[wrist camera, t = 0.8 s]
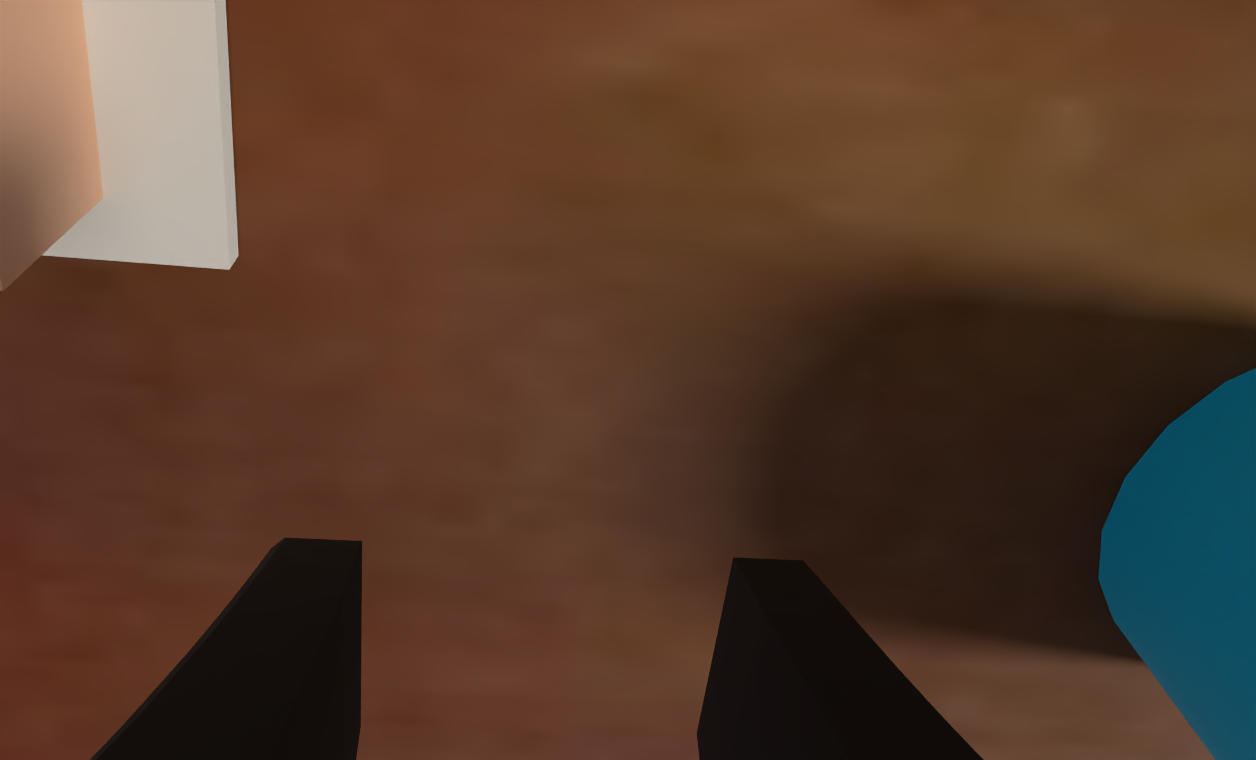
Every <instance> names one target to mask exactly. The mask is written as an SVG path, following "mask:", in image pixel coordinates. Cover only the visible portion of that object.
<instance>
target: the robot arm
mask: <svg viewBox="0 0 1256 760" xmlns="http://www.w3.org/2000/svg"><path fill="white" fill-rule="evenodd" d="M361 604H362V541H348V540H325V539H303V538H284V539H283V540H281V541H280V542H279V543H278V544H276V545H275V546H274V547H272V548H271V549H270V550H269V552H268V553H267V555H266V556H265V557H264V559H263V560H262V561H261V563H260V564H259V565H258V567H257V568H256V569H255V571H254V572H253V573H252V575H251V576H250V577H249V578H248V580H247V581H246V582H245V584H244V585H243V586H242V587H241V589H240V590H239V591H238V593H237V594H236V595H235V596H234V598H233V599H232V600H231V601H230V603H229V604H228V605H227V606H226V608H225V609H224V610H223V611H222V612H221V614H220V615H219V616H218V617H217V619H216V620H215V621H214V622H213V623H212V625H211V626H210V627H209V628H208V629H207V631H206V632H205V633H204V634H203V635H202V636H201V638H200V639H199V640H198V641H197V642H196V644H195V645H194V646H193V647H192V648H191V650H190V651H189V652H188V653H187V654H186V655H185V657H184V658H183V659H182V660H181V661H180V662H179V663H178V664H177V666H176V667H175V668H174V669H173V670H172V671H171V672H170V673H169V674H168V676H167V677H166V678H165V679H164V680H163V681H162V682H161V683H160V685H159V686H158V687H157V688H156V689H155V690H154V691H153V692H152V693H151V695H150V696H149V697H148V698H147V699H146V700H145V701H144V702H143V704H142V705H141V706H140V707H139V708H138V709H137V710H136V711H135V712H134V714H133V715H132V716H131V717H130V718H129V719H128V720H127V721H126V723H125V724H124V725H123V726H122V727H121V728H120V729H119V730H118V731H117V732H116V733H115V734H114V735H113V736H112V737H111V739H110V740H109V741H108V742H107V743H106V744H105V745H104V746H103V747H102V748H101V749H100V750H99V751H98V752H97V753H96V754H95V755H94V756H93V757H92V758H91V759H90V760H356V756H357V748H358V741H359V734H360V727H361ZM697 739H698V749H699V759H700V760H983V759H982V758H981V757H980V756H979V755H978V754H977V753H976V752H975V751H974V750H973V748H972V747H971V746H970V745H969V744H968V743H967V742H966V741H965V740H964V739H963V738H962V737H961V736H960V735H959V734H958V733H957V732H956V731H955V730H954V729H953V728H952V727H951V725H950V724H949V723H948V722H947V721H946V720H945V719H944V718H943V717H942V716H941V715H940V714H939V713H938V711H937V710H936V709H935V708H934V707H933V706H932V705H931V704H930V703H929V702H928V701H927V700H926V699H925V698H924V696H923V695H922V694H921V693H920V692H919V691H918V690H917V689H916V688H915V687H914V685H913V684H912V683H911V682H910V681H909V680H908V679H907V678H906V677H905V676H904V674H903V673H902V672H901V671H900V670H899V669H898V668H897V667H896V665H895V664H894V663H893V662H892V661H891V660H890V659H889V658H888V656H887V655H886V654H885V653H884V652H883V651H882V650H881V649H880V647H879V646H878V645H877V644H876V643H875V642H874V641H873V640H872V638H871V637H870V636H869V635H868V634H867V633H866V632H865V631H864V629H863V628H862V627H861V626H860V625H859V624H858V623H857V621H856V620H855V619H854V618H853V617H852V616H851V614H850V613H849V612H848V611H847V610H846V609H845V608H844V606H843V605H842V604H841V603H840V602H839V601H838V600H837V598H836V597H835V596H834V595H833V594H832V593H831V592H830V590H829V589H828V588H827V587H826V586H825V585H824V584H823V582H822V581H821V580H820V579H819V578H818V577H817V576H816V575H815V574H814V572H813V571H812V570H811V569H810V568H809V567H808V566H807V565H806V564H805V563H804V561H799V560H777V559H754V558H733V562H732V567H731V571H730V576H729V581H728V586H727V591H726V596H725V600H724V605H723V610H722V615H721V620H720V624H719V629H718V634H717V639H716V644H715V648H714V653H713V658H712V663H711V668H710V672H709V677H708V682H707V687H706V692H705V697H704V701H703V706H702V711H701V716H700V721H699V725H698V730H697Z"/></svg>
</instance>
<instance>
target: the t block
mask: <svg viewBox="0 0 1256 760" xmlns="http://www.w3.org/2000/svg"><path fill="white" fill-rule="evenodd" d="M103 198H104V197H103V188H102V179H101V170H100V161H99V152H98V143H97V133H96V124H95V115H94V106H93V97H92V88H91V79H90V70H89V61H88V52H87V43H86V34H85V25H84V16H83V7H82V0H0V291H4V290H5V289H6V288H7V287H8V286H9V285H10V284H11V283H12V282H13V281H14V280H15V279H16V278H18V277H19V276H20V275H21V274H22V273H23V272H24V271H25V270H26V269H27V268H28V267H29V266H30V265H32V264H33V263H34V262H35V261H36V260H37V259H38V258H39V257H40V256H41V255H42V254H43V253H44V252H46V251H47V250H48V249H49V248H50V247H51V246H52V245H53V244H54V243H55V242H56V241H57V240H58V239H60V238H61V237H62V236H63V235H64V234H65V233H66V232H67V231H68V230H69V229H70V228H71V227H72V226H74V225H75V224H76V223H77V222H78V221H79V220H80V219H81V218H82V217H83V216H84V215H85V214H86V213H88V212H89V211H90V210H91V209H92V208H93V207H94V206H95V205H96V204H97V203H98V202H99V201H100V200H102V199H103Z"/></svg>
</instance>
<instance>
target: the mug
mask: <svg viewBox="0 0 1256 760" xmlns="http://www.w3.org/2000/svg"><path fill="white" fill-rule="evenodd" d="M1098 580H1099V582H1100V585H1101V588H1102V590H1103V593H1104V596H1105V599H1106V601H1107V604H1108V607H1109V609H1110V612H1111V615H1112V618H1113V620H1114V622H1115V623H1116V624H1117V626H1118V627H1119V629H1120V630H1121V631H1122V633H1123V634H1124V635H1125V637H1126V638H1127V639H1128V641H1129V642H1130V644H1131V645H1132V646H1133V648H1134V649H1135V650H1136V652H1137V653H1138V654H1139V656H1140V657H1141V659H1142V660H1143V661H1144V663H1145V664H1146V665H1147V667H1148V668H1149V669H1150V671H1151V672H1152V674H1153V675H1154V676H1155V678H1156V679H1157V680H1158V682H1159V683H1160V684H1161V686H1162V687H1163V689H1164V690H1165V691H1166V693H1167V694H1168V695H1169V697H1170V698H1171V699H1172V701H1173V702H1174V704H1175V705H1176V706H1177V708H1178V709H1179V710H1180V712H1181V713H1182V714H1183V716H1184V717H1185V719H1186V720H1187V721H1188V723H1189V724H1190V725H1191V727H1192V728H1193V729H1194V731H1195V732H1196V734H1197V735H1198V736H1199V738H1200V739H1201V740H1202V742H1203V743H1204V744H1205V746H1206V747H1207V749H1208V750H1209V751H1210V753H1211V754H1212V755H1213V757H1214V758H1215V759H1216V760H1256V368H1255V369H1253V370H1250V371H1248V372H1246V373H1244V374H1242V375H1239V376H1237V377H1235V378H1233V379H1231V380H1228V381H1226V382H1225V383H1223V384H1222V385H1221V386H1219V387H1218V388H1217V389H1215V390H1214V391H1213V392H1211V393H1210V394H1209V395H1207V396H1206V397H1205V398H1203V399H1202V400H1201V401H1199V402H1198V403H1197V404H1196V405H1194V406H1193V407H1192V408H1190V409H1189V410H1188V411H1186V412H1185V413H1184V414H1182V415H1181V416H1180V417H1178V418H1177V419H1176V420H1174V421H1173V422H1172V423H1170V424H1169V425H1168V426H1167V427H1166V428H1165V430H1164V431H1163V432H1162V433H1161V434H1160V436H1159V437H1158V438H1157V439H1156V441H1155V442H1154V443H1153V444H1152V445H1151V447H1150V448H1149V449H1148V450H1147V451H1146V453H1145V454H1144V455H1143V456H1142V458H1141V459H1140V460H1139V461H1138V462H1137V464H1136V465H1135V466H1134V467H1133V468H1132V470H1131V471H1130V472H1129V473H1128V475H1127V476H1126V477H1125V479H1124V481H1123V484H1122V486H1121V488H1120V491H1119V493H1118V495H1117V497H1116V500H1115V502H1114V504H1113V506H1112V509H1111V511H1110V513H1109V516H1108V518H1107V520H1106V522H1105V525H1104V527H1103V529H1102V537H1101V551H1100V565H1099V579H1098Z"/></svg>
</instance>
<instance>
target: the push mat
mask: <svg viewBox="0 0 1256 760" xmlns="http://www.w3.org/2000/svg"><path fill="white" fill-rule="evenodd" d="M82 7H83V16H84V25H85V34H86V43H87V52H88V61H89V70H90V79H91V88H92V97H93V106H94V115H95V124H96V133H97V143H98V152H99V161H100V170H101V179H102V188H103V197H104V198H103V199H102V200H100V201H99V202H98V203H97V204H96V205H95V206H94V207H93V208H92V209H91V210H90V211H89V212H88V213H86V214H85V215H84V216H83V217H82V218H81V219H80V220H79V221H78V222H77V223H76V224H75V225H74V226H72V227H71V228H70V229H69V230H68V231H67V232H66V233H65V234H64V235H63V236H62V237H61V238H60V239H58V240H57V241H56V242H55V243H54V244H53V245H52V246H51V247H50V248H49V249H48V250H47V251H46V252H44V253H43V254H42V255H46V256H59V257H72V258H85V259H98V260H111V261H124V262H137V263H150V264H164V265H177V266H190V267H203V268H216V269H230V268H231V266H232V265H233V263H234V262H235V260H236V258H237V257H238V236H237V217H236V197H235V177H234V158H233V138H232V118H231V99H230V79H229V59H228V40H227V20H226V0H82Z"/></svg>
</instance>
